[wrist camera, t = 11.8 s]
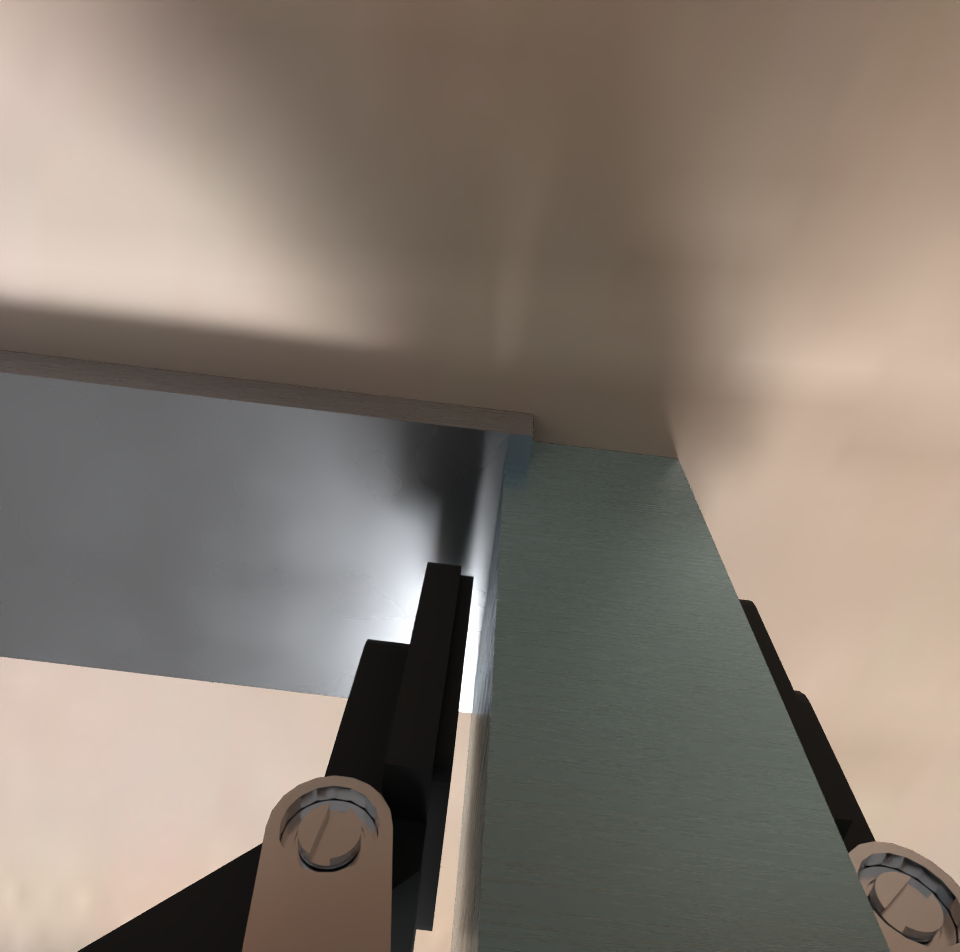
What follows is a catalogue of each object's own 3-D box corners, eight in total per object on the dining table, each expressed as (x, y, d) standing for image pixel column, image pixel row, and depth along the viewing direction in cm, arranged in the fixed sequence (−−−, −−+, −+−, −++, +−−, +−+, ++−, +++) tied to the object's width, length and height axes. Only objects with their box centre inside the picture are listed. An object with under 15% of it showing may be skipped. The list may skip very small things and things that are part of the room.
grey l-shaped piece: (684, 430, 13) (960, 997, 5) (617, 694, 15) (719, 1341, 7) (-303, 312, 13) (-1736, 673, 5) (-196, 597, 15) (-983, 1135, 7)
